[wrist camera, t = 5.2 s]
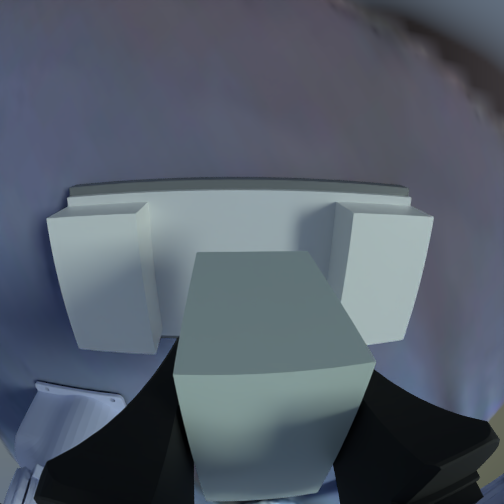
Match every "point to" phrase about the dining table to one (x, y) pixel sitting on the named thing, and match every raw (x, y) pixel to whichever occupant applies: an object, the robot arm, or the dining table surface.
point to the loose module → (266, 374)
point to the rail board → (230, 249)
